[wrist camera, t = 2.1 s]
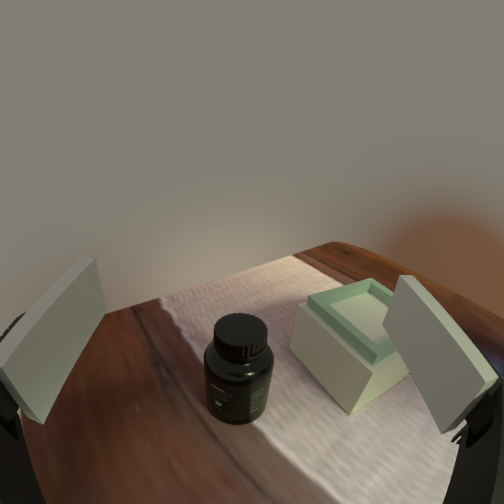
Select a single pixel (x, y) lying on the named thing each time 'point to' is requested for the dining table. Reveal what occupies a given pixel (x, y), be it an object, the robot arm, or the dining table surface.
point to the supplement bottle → (238, 369)
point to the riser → (348, 343)
